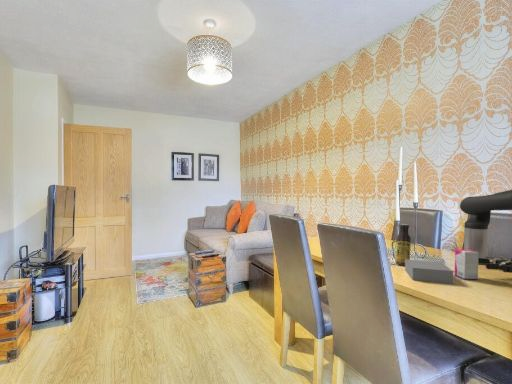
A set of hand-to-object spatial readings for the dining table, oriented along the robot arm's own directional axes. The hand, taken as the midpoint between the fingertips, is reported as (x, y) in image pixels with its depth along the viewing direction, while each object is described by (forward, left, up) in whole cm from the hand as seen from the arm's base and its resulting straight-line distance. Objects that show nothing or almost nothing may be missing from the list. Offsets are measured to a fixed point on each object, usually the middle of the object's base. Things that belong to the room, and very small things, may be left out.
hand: (480, 263), depth 112 cm
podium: (+3, -20, -7) cm, 21 cm away
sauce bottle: (-14, -26, -7) cm, 30 cm away
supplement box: (0, -5, -7) cm, 9 cm away
